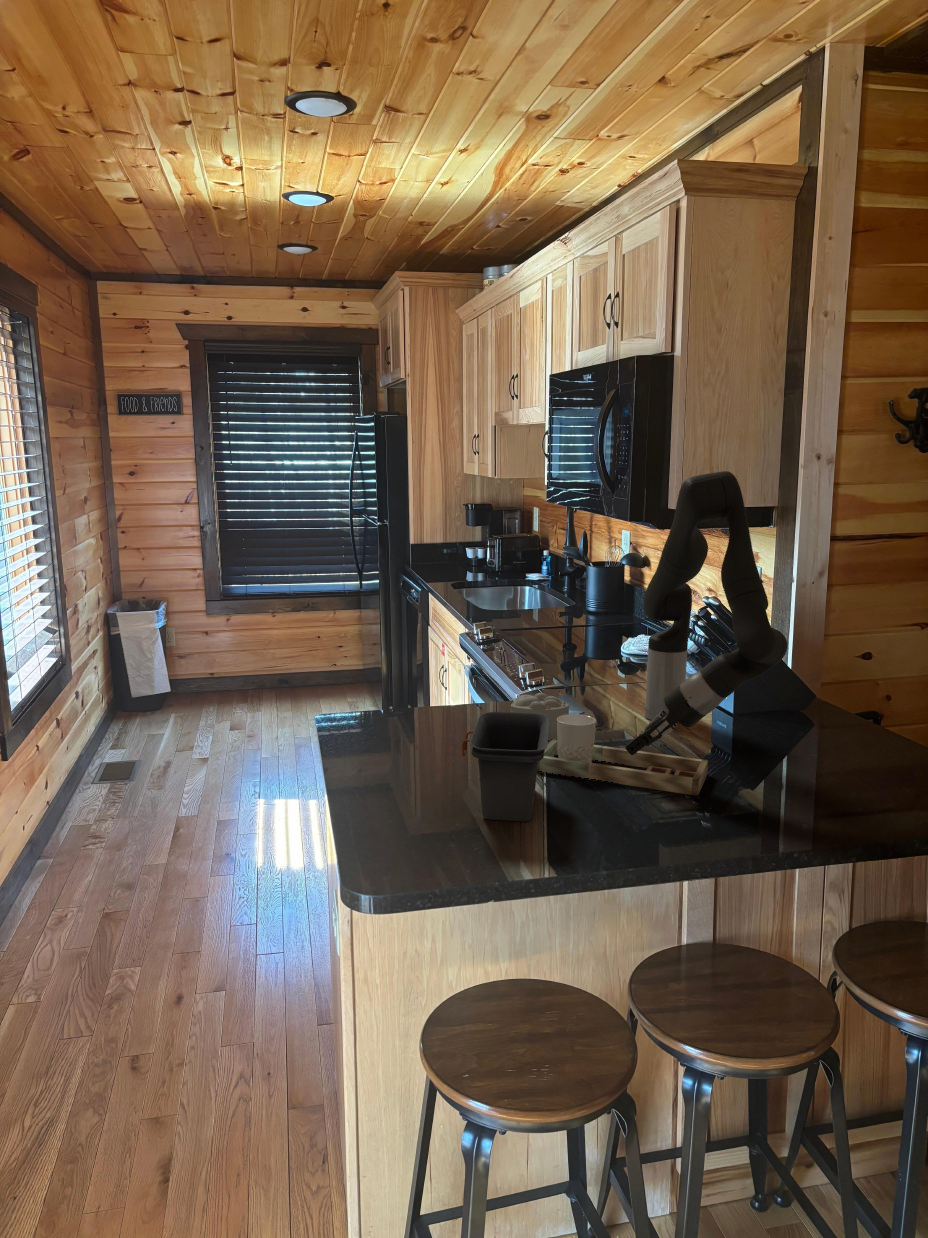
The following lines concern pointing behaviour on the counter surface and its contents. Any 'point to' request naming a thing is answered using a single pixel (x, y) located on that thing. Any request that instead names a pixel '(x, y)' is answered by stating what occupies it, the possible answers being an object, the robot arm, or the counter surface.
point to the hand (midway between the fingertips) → (629, 750)
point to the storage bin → (508, 761)
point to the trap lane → (655, 777)
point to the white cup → (576, 737)
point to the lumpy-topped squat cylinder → (542, 708)
